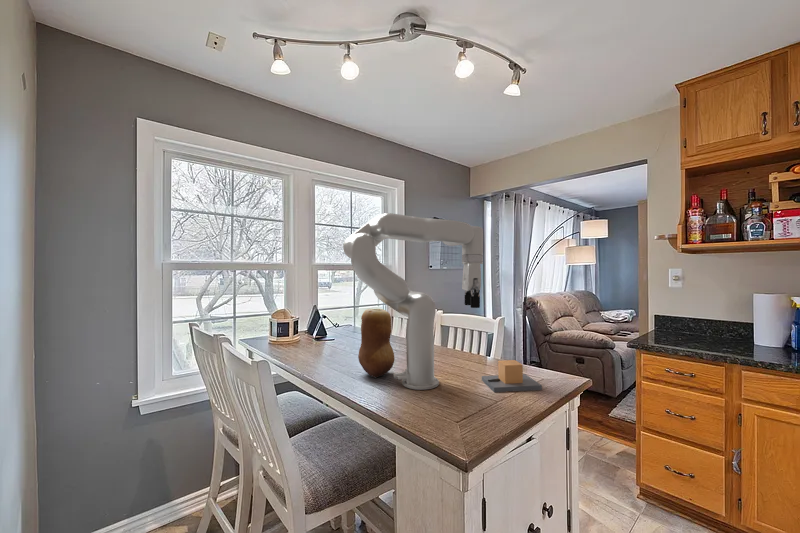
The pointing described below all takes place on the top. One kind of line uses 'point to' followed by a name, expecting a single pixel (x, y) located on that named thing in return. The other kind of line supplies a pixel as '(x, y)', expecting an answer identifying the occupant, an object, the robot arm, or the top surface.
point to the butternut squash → (376, 342)
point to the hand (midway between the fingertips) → (471, 306)
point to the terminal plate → (511, 384)
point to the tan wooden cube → (510, 371)
